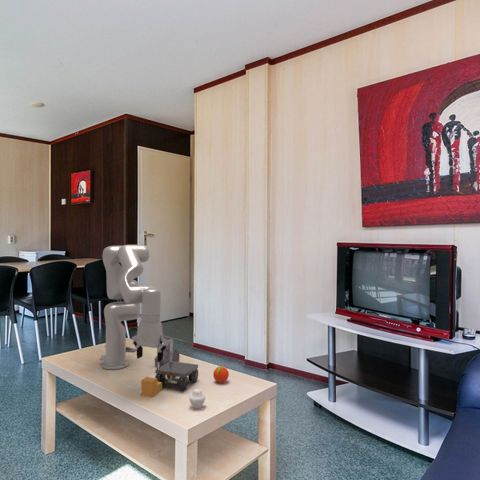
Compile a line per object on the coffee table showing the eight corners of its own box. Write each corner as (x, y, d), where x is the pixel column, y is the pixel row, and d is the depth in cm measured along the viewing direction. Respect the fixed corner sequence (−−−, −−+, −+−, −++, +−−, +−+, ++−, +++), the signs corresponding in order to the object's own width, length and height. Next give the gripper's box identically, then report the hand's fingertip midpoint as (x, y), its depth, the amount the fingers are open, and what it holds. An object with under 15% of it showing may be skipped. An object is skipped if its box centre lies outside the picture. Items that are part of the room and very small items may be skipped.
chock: (141, 396, 157) (141, 380, 156) (151, 388, 164) (152, 373, 164) (151, 397, 155) (151, 381, 155) (162, 390, 162) (162, 375, 162)
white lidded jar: (200, 411, 143) (200, 393, 143) (186, 408, 145) (186, 390, 145) (207, 405, 149) (208, 387, 149) (193, 402, 151) (194, 384, 151)
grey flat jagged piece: (138, 351, 217) (138, 347, 217) (129, 354, 212) (129, 350, 212) (114, 346, 229) (114, 342, 229) (104, 348, 223) (104, 345, 223)
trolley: (153, 388, 164) (153, 346, 164) (171, 375, 179) (172, 337, 179) (182, 393, 159) (183, 350, 159) (199, 380, 174) (199, 340, 174)
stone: (160, 348, 188) (181, 341, 200) (151, 347, 191) (173, 339, 204) (161, 370, 188) (182, 361, 200) (152, 368, 191) (174, 359, 204)
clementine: (224, 386, 167) (225, 370, 167) (210, 384, 169) (210, 368, 169) (230, 380, 175) (230, 364, 175) (216, 378, 177) (216, 363, 177)
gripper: (127, 317, 158) (126, 359, 158) (164, 322, 152) (163, 365, 153) (138, 314, 165) (137, 353, 165) (173, 318, 159) (172, 359, 160)
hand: (149, 359), depth 159 cm, fingers open, 9 cm apart
